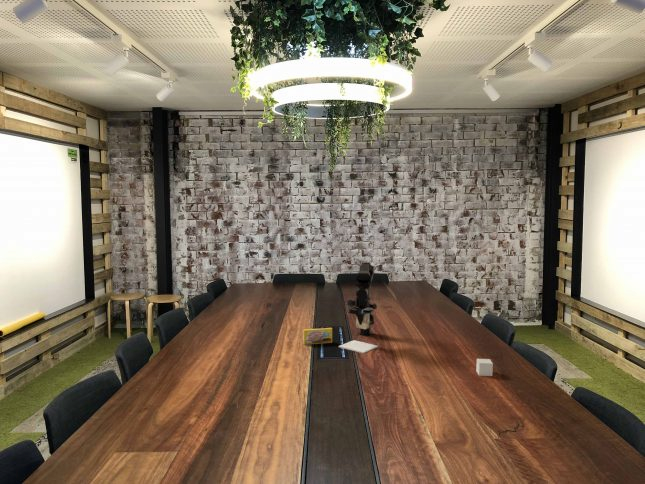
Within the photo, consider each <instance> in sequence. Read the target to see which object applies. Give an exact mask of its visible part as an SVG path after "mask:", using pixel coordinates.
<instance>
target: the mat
mask: <svg viewBox="0 0 645 484" xmlns="http://www.w3.org/2000/svg"><path fill="white" fill-rule="evenodd" d="M378 347H379V345H376V344H372V343H367V342H363V341H359V340H356V339H354V340H351V341H347V342H346V343H343V344H340V345H338V348H340V349H344V350H349V351H352V352H356V353H359V354H365V353H367V352H370V351H372V350H374V349H376V348H378Z"/></svg>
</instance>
